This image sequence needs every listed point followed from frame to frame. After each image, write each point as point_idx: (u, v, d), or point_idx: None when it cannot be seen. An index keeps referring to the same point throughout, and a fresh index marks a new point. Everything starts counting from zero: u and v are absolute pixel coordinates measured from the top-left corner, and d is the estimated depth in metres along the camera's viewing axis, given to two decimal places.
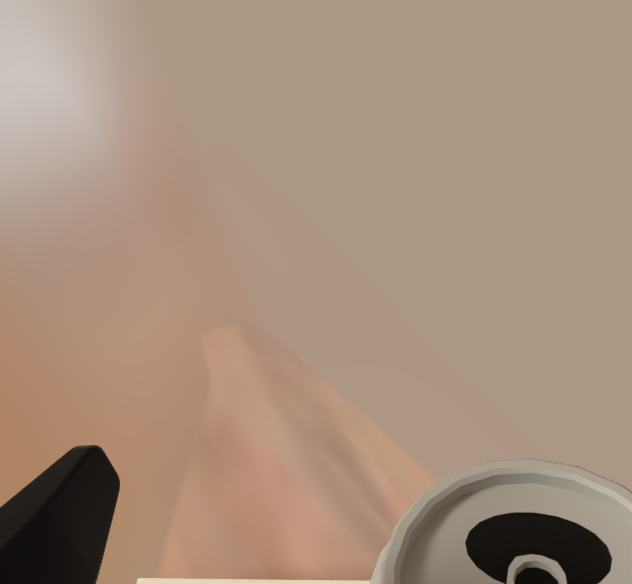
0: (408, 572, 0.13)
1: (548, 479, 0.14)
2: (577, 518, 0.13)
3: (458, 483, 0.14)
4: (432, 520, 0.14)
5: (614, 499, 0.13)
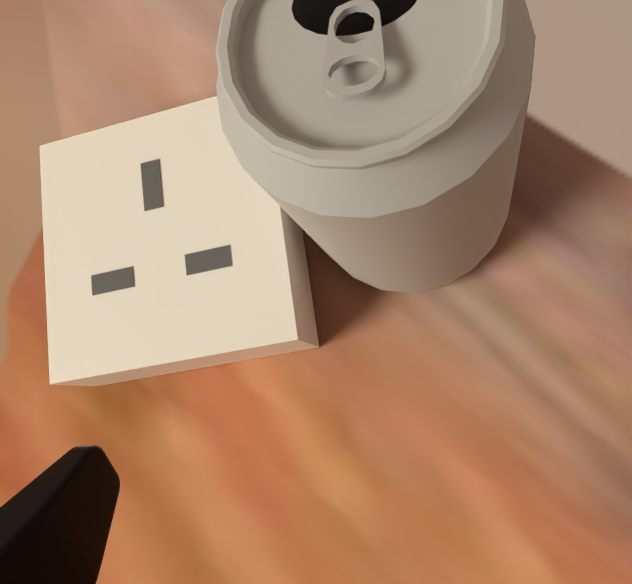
0: (243, 50, 0.14)
1: None
2: None
3: None
4: None
5: None
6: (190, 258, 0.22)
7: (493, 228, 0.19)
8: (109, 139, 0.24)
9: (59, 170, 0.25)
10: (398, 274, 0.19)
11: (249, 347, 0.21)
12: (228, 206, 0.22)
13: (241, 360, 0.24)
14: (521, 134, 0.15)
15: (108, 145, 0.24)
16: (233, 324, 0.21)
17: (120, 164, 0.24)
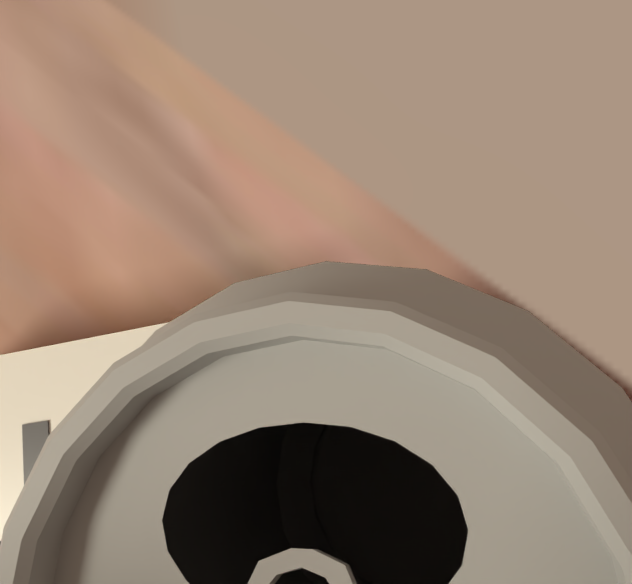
0: None
1: (329, 340, 0.06)
2: (394, 428, 0.05)
3: (125, 393, 0.06)
4: (95, 470, 0.06)
5: (478, 389, 0.05)
6: None
7: None
8: None
9: None
10: None
11: None
12: None
13: None
14: None
15: None
16: None
17: None
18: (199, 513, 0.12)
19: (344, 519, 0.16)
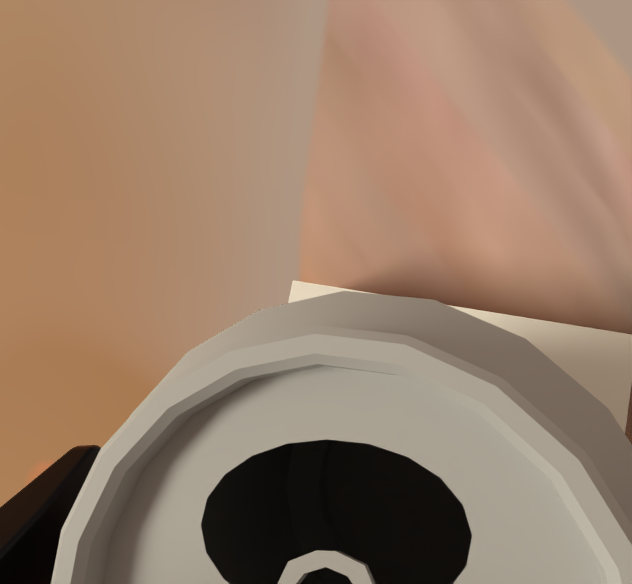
0: None
1: (349, 367, 0.06)
2: (406, 446, 0.06)
3: (169, 413, 0.07)
4: (139, 481, 0.07)
5: (481, 413, 0.06)
6: None
7: None
8: None
9: None
10: None
11: None
12: None
13: None
14: None
15: None
16: None
17: None
18: (218, 514, 0.12)
19: (351, 520, 0.17)
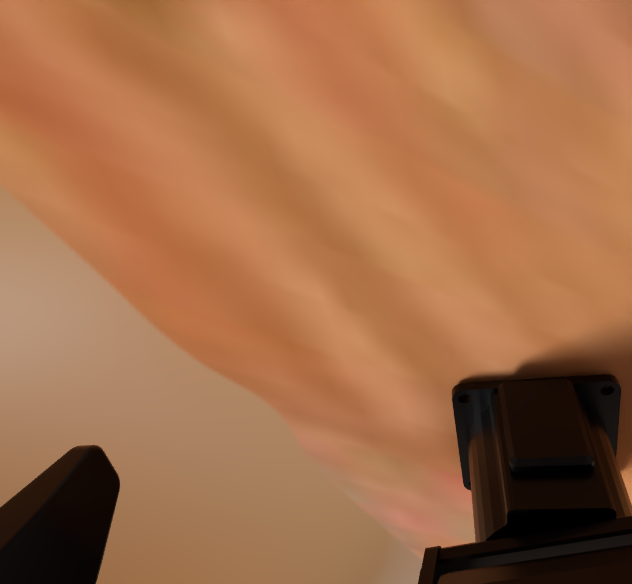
0: None
1: None
2: None
3: None
4: None
5: None
6: None
7: None
8: None
9: None
10: None
11: None
12: None
13: None
14: None
15: None
16: None
17: None
18: None
19: None
